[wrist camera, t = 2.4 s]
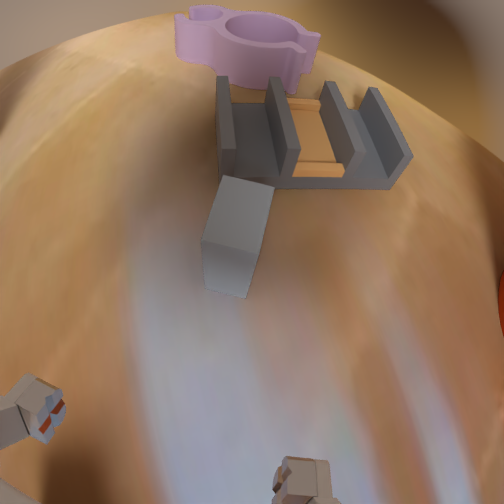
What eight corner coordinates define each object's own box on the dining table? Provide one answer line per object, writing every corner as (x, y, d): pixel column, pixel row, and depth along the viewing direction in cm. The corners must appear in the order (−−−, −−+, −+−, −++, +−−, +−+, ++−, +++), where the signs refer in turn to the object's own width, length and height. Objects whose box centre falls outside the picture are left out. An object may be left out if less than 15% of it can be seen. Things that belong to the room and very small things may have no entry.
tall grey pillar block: (204, 288, 27) (200, 239, 19) (220, 237, 29) (223, 174, 21) (245, 298, 27) (259, 254, 19) (258, 246, 29) (274, 187, 21)
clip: (159, 64, 40) (156, 25, 34) (203, 32, 46) (205, -2, 39) (287, 104, 38) (298, 61, 32) (315, 65, 44) (326, 29, 37)
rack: (219, 190, 31) (221, 149, 26) (215, 116, 36) (216, 75, 30) (389, 189, 34) (413, 156, 29) (361, 121, 39) (377, 88, 33)
